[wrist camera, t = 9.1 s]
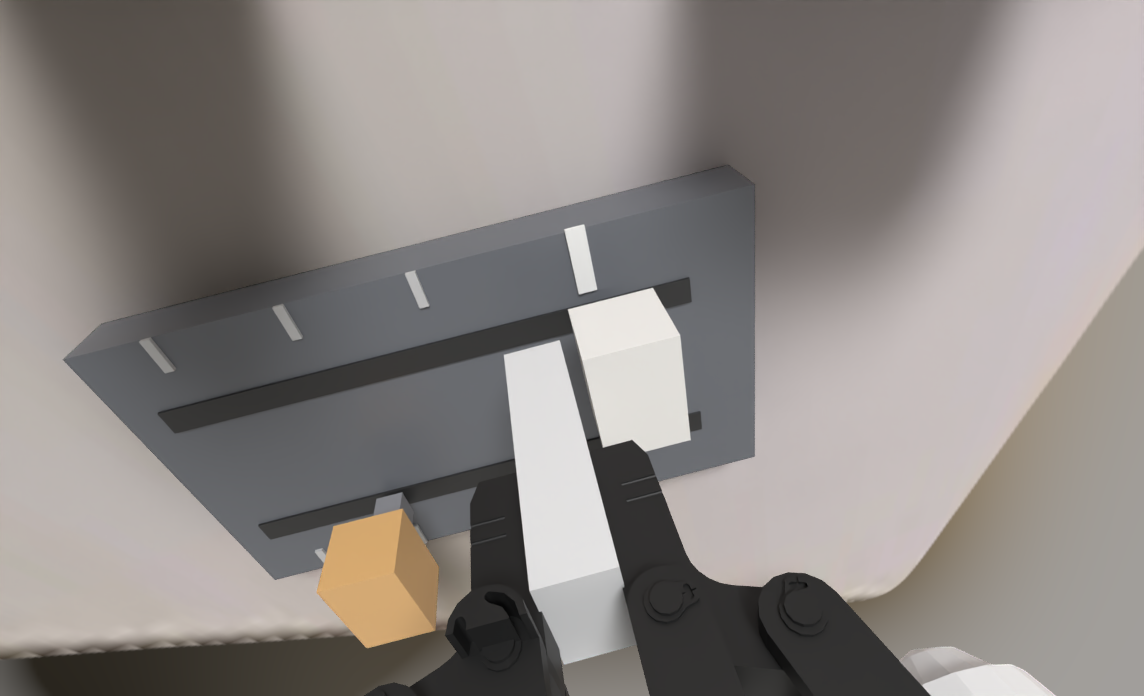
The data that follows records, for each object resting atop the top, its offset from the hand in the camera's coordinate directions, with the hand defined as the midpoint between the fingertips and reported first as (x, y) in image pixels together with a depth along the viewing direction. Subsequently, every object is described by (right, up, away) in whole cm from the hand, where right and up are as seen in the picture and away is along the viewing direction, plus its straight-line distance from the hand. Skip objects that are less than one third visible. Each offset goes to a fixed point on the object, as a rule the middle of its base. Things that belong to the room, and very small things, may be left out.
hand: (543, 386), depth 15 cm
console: (-3, 0, +6) cm, 7 cm away
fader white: (+2, +2, +3) cm, 4 cm away
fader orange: (-6, -5, +6) cm, 10 cm away
